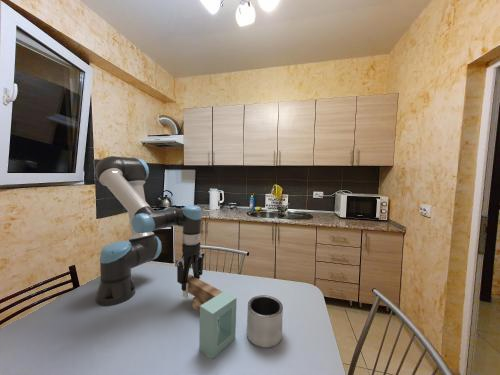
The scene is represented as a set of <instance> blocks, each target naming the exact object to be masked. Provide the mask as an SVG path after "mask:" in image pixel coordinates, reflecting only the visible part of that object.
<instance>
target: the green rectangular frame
mask: <svg viewBox="0 0 500 375" xmlns="http://www.w3.org/2000/svg"><path fill="white" fill-rule="evenodd" d="M236 323H237V297H236V296H234V295H233V294H230V293H227V292H226V291H222V293H220V294H219V295H217V296H216V297H214V298H212V299H211V300H209V301H207V302H206V303H204V304H202V305H201V306H200V312H199V336H198V338H199V341H198V342H199V345H198V347H199V348H198V350H200V351H201V352H202V353H204V354H205V355H206V356H208V357H209V358H210V359H211V360H213V359H214V358H215V357H216V356H217V355H218V354H219V353H221V352H222V351H223V350H224V349H225V348H226V347H227V346H228V345H229V344H230V343H231V342H233V341H234V340H235V339H236V328H237V327H236V326H237V324H236Z"/></svg>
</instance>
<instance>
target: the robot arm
mask: <svg viewBox="0 0 500 375" xmlns="http://www.w3.org/2000/svg"><path fill="white" fill-rule="evenodd" d="M94 172H95V177H96V180H98V182H99V183H100V185H102V186H104V187H107V189H108V190H109V191H110V192H111V193H112V195H113V196H114V197H115V198H116V199H117V200H118V201H119V203H120V204H121V205H122V206H123V207H124V208H125V210H126V211H127V214H128V220H129V225H130V232H131V233H130V234H131V235H130V236H129V238H128V240H121V241H115V242H112V243H110V244H108V245H106V246H104V247H103V248H102V249H101V250H100V256H99V264H100V267H99V270H100V283H99V286H98V288H97V291H96V294H95V302H96V303H97V304H98V305H100V306H113V305H117V304H118V305H119V304H121V303H124V302H127V301H128V300H129V299H131V298H132V297H133V296H134V295H135V294H136V284H135V282H134V279H133V277H132V269H133V268H136V267H138V266H141V265H143V264H146V263H150V262H152V261H154V260H155V259H157V258H159V256H160V254H161V253H162V241H161V239H160V238H159V237H158V236H156V235H155V232H153V231H157V230H162V229H166V228H170V227H175V226H177V227H181V228H182V238H181V240H182V245H181V247H182V248H181V252H182V256H181V258H180V259H179V260H178V259H177V260H176V261H175V264H176V268H177V269H176V271H177V272H176V273H177V275H176V276H177V279H176V281H177V283H179V284H180V285H181V288H180V289H181V290H182V297H184V298H185V299H189V293H188V283H187V279H188V275H189V273H190V268H191V267H192V276H194V277H196V278H198V279H200V278H201V276H202V275H203V272H204V271H203V270H204V258H205V253H204V252H201V239H202V238H201V237H202V236H201V234H202V219H203V216H202V215H203V214H202V208H201V206H198V205H186V206H184V207H183V208H178V207H175V206H172V207H171V206H169V207H165V208H164V209H161V210H154V209H153V208H152V207H151V206H150V205H149V203H147V201H146V195H145V190H144V185H145V184H146V180H147V179H148V178H149V174H150V169H149V166H148V164H147V162H146V161H145V160H144V159H142V158H137V157H126V156H114V155H112V156H111V155H110V156H105V157H104V158H102V159H100V160H99V161H98V162H97V163H96V166H95V169H94ZM200 280H201V279H200Z"/></svg>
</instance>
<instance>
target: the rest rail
mask: <svg viewBox="0 0 500 375" xmlns="http://www.w3.org/2000/svg"><path fill="white" fill-rule="evenodd" d="M202 304H204V302H203V301H201V300H199V299H198V298H196V297H195V296H193V297H192V308H193V309H194V310H196V311H198V312H199V313H200V306H201V305H202Z"/></svg>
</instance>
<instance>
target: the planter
mask: <svg viewBox="0 0 500 375" xmlns="http://www.w3.org/2000/svg"><path fill="white" fill-rule="evenodd" d="M283 309H284V306H283V304H282V302H281V301H280V300H279V299H278V298H276V297H273V296H270V295H265V294H263V295H262V294H261V295H256V296H254V297H251V299H249V300H248V302H247V317H246V318H247V319H246V335H247V338H248V339H249V341H250V342H251V344H252V343H253V344H254V345H255V346H258V347H261V348H271V347H272V348H273V347H275V346H276V345H278V344H279V343H280V342H281V340H282V337H283V318H284V317H283V315H284V314H283V313H284V310H283Z"/></svg>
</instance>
